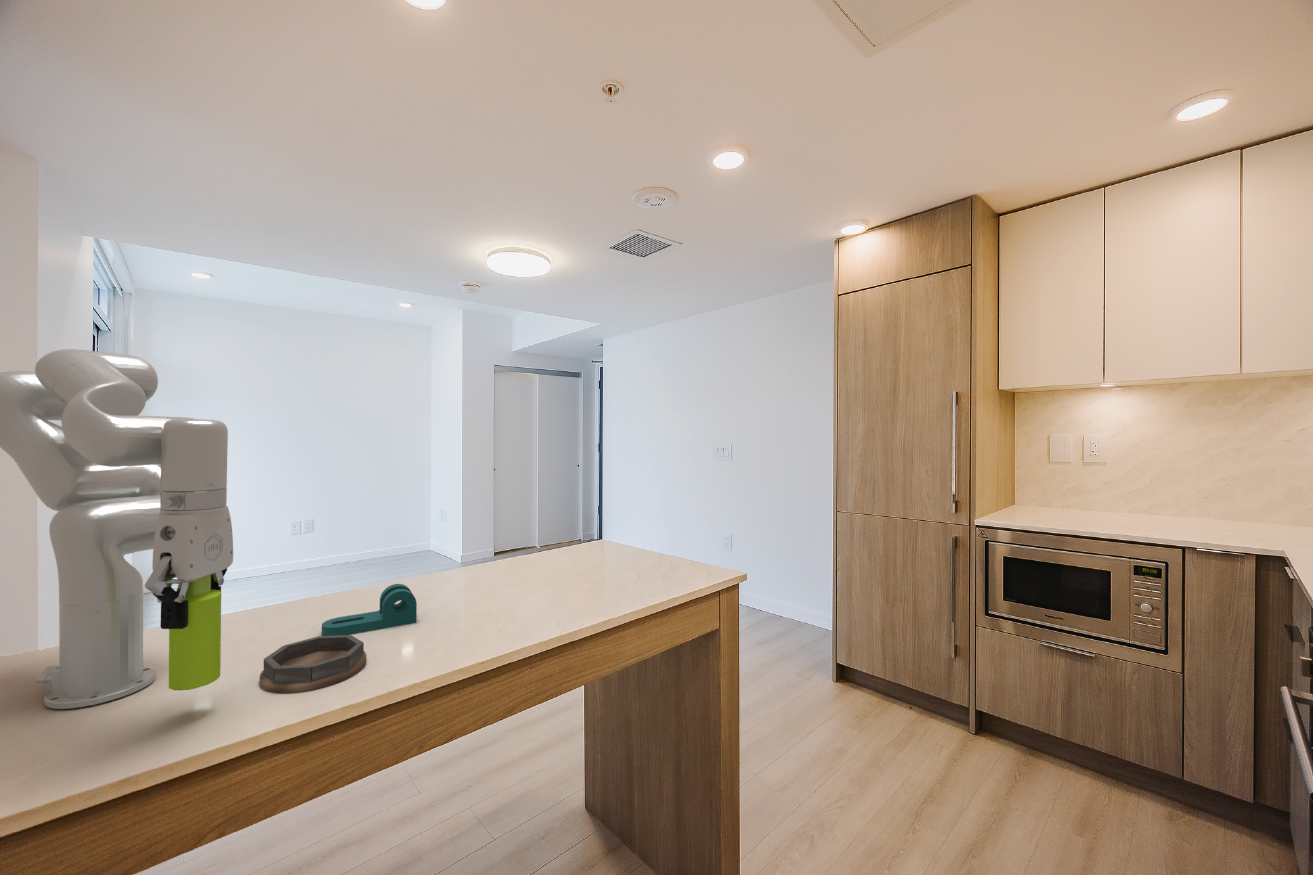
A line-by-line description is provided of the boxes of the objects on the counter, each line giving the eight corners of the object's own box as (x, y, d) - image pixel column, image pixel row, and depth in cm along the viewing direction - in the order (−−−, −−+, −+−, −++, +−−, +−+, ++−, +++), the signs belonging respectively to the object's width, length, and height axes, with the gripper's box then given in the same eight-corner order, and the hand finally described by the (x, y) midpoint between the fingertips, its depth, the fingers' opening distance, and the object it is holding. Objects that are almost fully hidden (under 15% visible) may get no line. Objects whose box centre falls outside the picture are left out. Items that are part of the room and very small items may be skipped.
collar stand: (236, 695, 85) (236, 672, 85) (293, 654, 101) (293, 635, 101) (341, 690, 87) (341, 668, 87) (380, 650, 102) (380, 632, 102)
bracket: (411, 614, 123) (411, 581, 123) (416, 623, 118) (416, 589, 118) (321, 630, 113) (321, 594, 113) (322, 640, 108) (322, 602, 108)
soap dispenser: (170, 675, 80) (171, 547, 80) (226, 668, 83) (227, 544, 82) (151, 694, 75) (152, 557, 74) (211, 686, 78) (213, 553, 77)
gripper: (175, 510, 70) (173, 642, 71) (258, 494, 87) (255, 600, 88) (113, 509, 69) (111, 643, 70) (209, 493, 87) (207, 600, 87)
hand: (192, 618), depth 79 cm, fingers closed on soap dispenser, 5 cm apart
